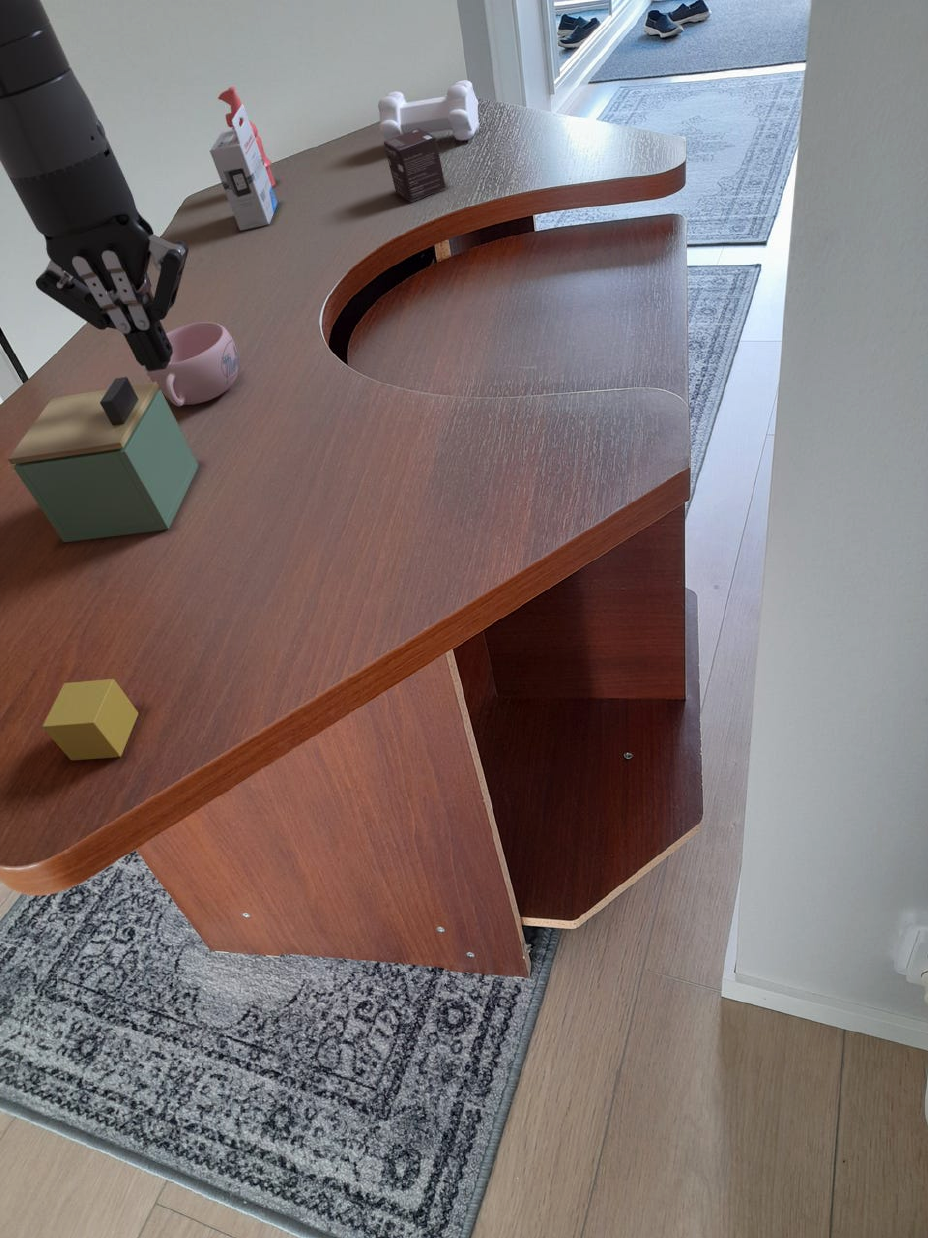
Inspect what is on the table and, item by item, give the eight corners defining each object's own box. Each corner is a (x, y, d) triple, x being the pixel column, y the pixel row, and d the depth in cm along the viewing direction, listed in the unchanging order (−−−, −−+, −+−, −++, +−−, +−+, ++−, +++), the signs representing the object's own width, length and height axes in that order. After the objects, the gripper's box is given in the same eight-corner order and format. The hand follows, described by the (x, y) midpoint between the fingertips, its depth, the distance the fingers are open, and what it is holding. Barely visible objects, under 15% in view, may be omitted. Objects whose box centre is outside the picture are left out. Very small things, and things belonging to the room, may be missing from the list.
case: (168, 529, 83) (124, 451, 77) (63, 542, 86) (12, 467, 80) (198, 465, 90) (160, 389, 84) (100, 479, 93) (56, 405, 87)
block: (120, 757, 64) (93, 722, 61) (70, 760, 65) (41, 726, 62) (139, 713, 67) (113, 678, 64) (91, 717, 68) (63, 682, 65)
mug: (182, 371, 106) (160, 325, 102) (259, 362, 104) (239, 314, 100) (143, 429, 98) (118, 382, 94) (226, 420, 96) (203, 371, 92)
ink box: (249, 210, 143) (212, 109, 133) (279, 203, 142) (244, 101, 132) (239, 231, 137) (199, 127, 127) (269, 225, 136) (232, 119, 126)
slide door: (123, 448, 77) (106, 418, 75) (10, 464, 79) (-9, 436, 77) (159, 386, 84) (145, 357, 82) (55, 403, 86) (38, 375, 84)
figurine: (243, 194, 149) (207, 95, 139) (256, 182, 152) (222, 84, 142) (270, 191, 147) (235, 90, 137) (282, 178, 151) (249, 79, 140)
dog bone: (384, 158, 147) (371, 104, 142) (400, 138, 153) (387, 86, 147) (471, 146, 143) (461, 89, 137) (484, 126, 148) (474, 71, 143)
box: (395, 193, 134) (382, 141, 129) (431, 179, 136) (419, 127, 130) (410, 203, 130) (397, 149, 125) (447, 188, 131) (436, 135, 126)
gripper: (-48, 189, 64) (75, 400, 76) (120, 152, 61) (220, 377, 73) (-2, 151, 69) (106, 355, 81) (155, 116, 66) (243, 332, 78)
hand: (160, 365), depth 77 cm, fingers closed
